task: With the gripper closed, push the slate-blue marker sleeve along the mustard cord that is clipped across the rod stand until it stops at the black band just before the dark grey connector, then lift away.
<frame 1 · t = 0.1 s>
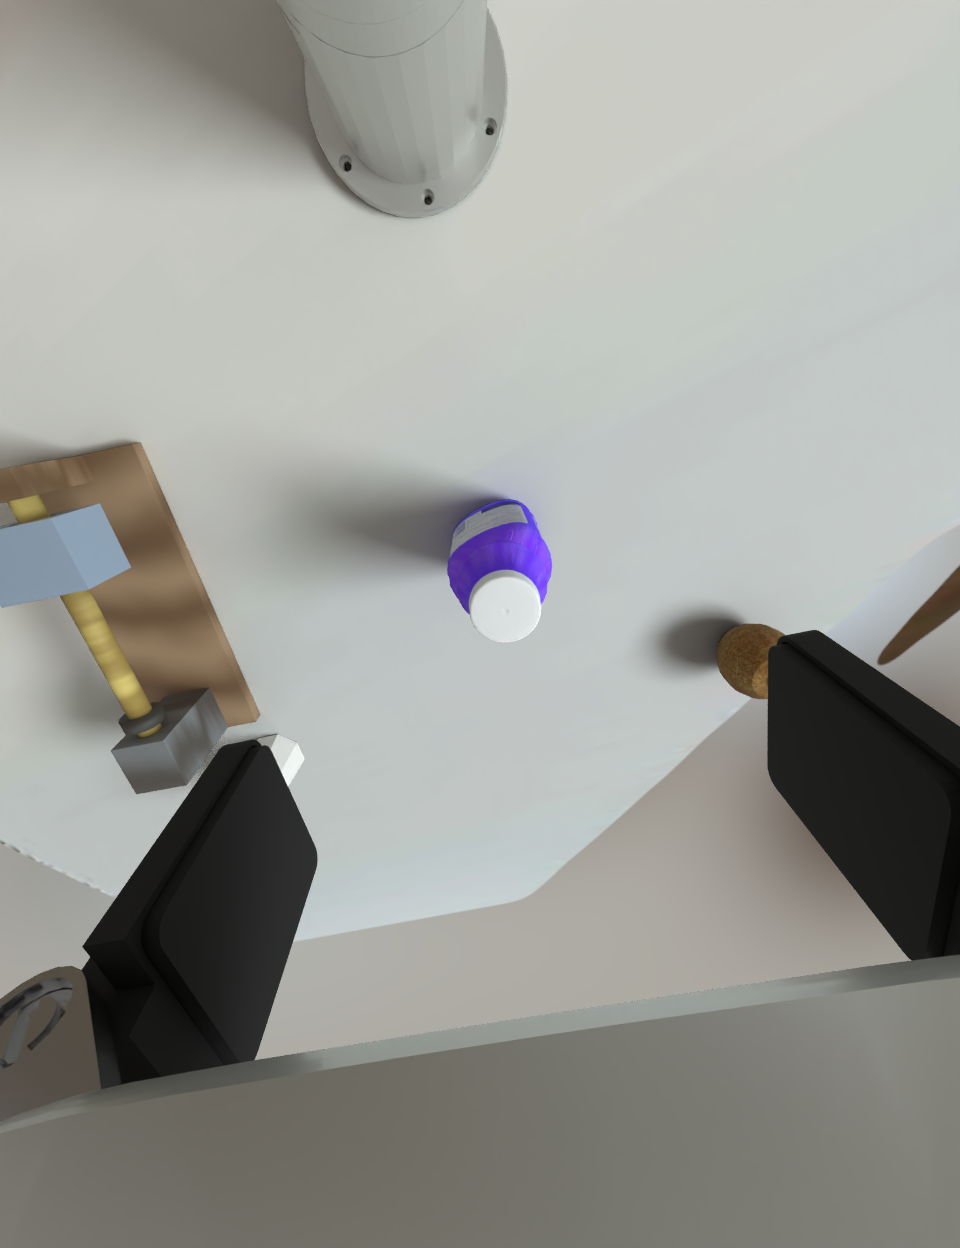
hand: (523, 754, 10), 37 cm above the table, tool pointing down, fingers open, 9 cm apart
bottle: (493, 533, 46), on the table
rod stand: (153, 604, 48), on the table
pepper shaker: (278, 753, 55), on the table
sleeve: (52, 554, 38), point 8 cm above the table, slide at 0.0 cm
fruit: (734, 640, 50), on the table
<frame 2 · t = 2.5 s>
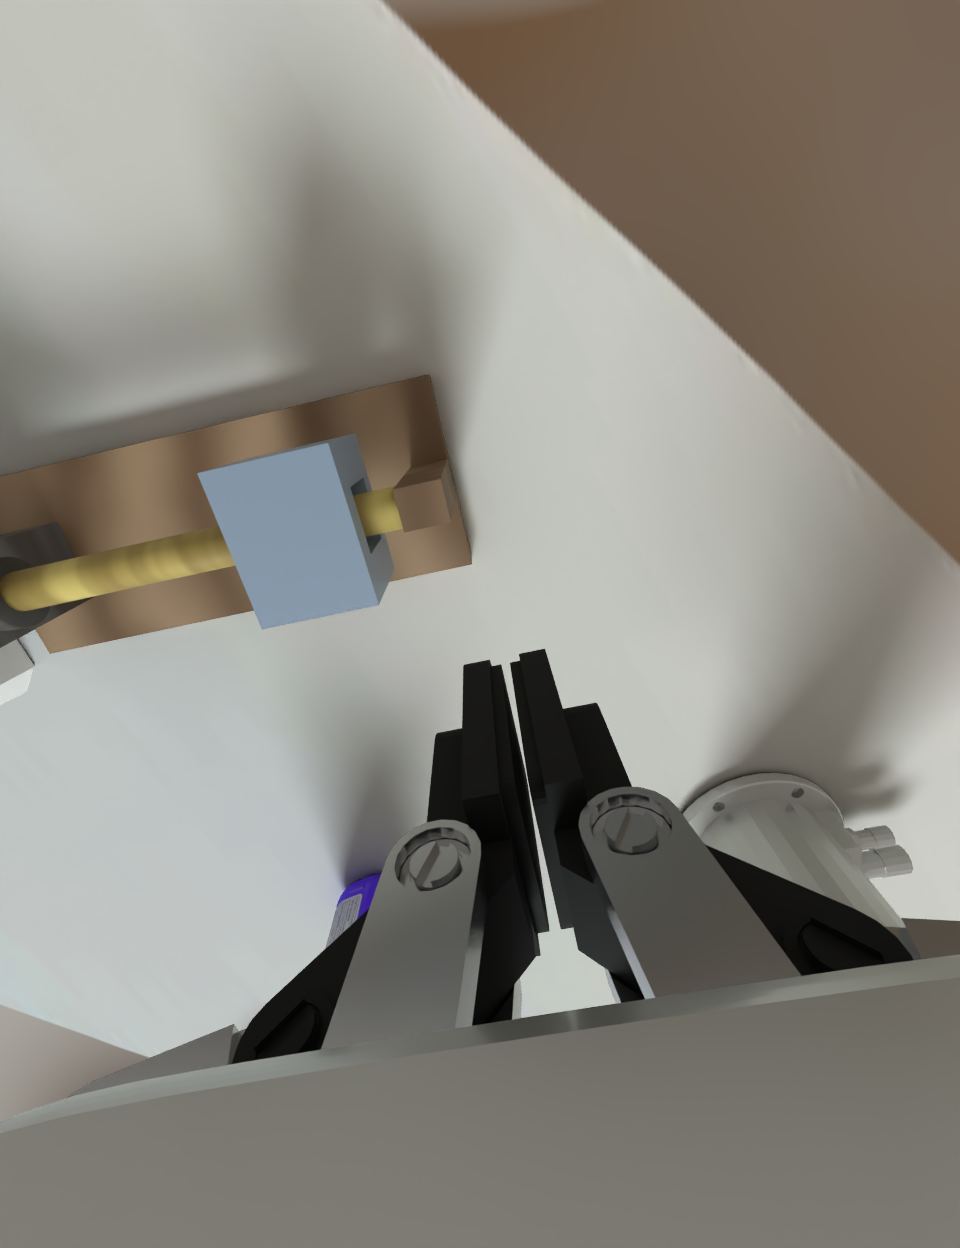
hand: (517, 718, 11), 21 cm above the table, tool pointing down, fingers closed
bottle: (383, 897, 43), on the table
rod stand: (229, 522, 30), on the table
sleeve: (310, 527, 23), point 8 cm above the table, slide at 0.0 cm
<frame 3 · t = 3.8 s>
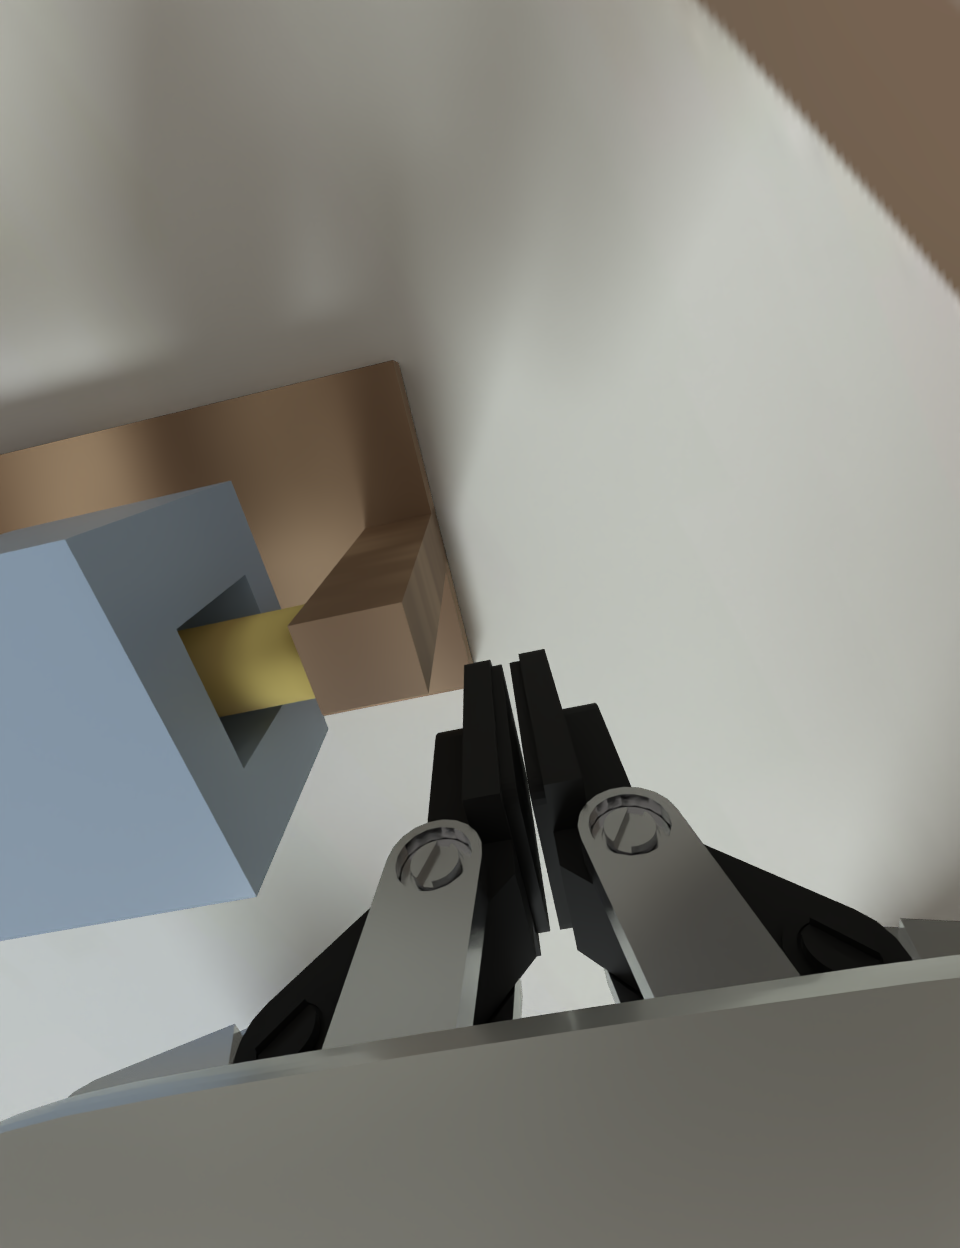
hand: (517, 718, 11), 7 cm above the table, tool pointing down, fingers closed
rod stand: (63, 615, 18), on the table
sleeve: (120, 691, 10), point 8 cm above the table, slide at 0.0 cm
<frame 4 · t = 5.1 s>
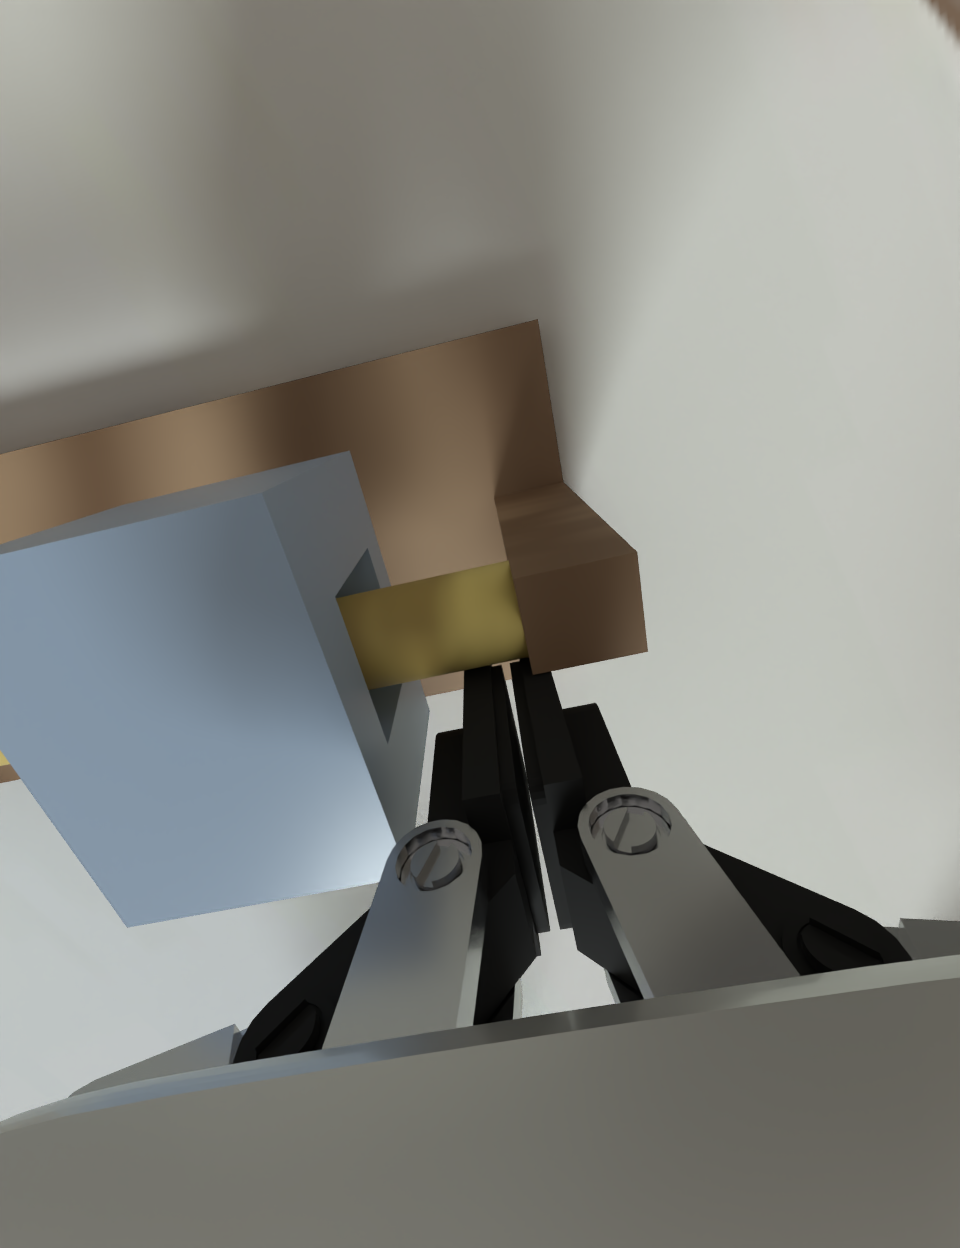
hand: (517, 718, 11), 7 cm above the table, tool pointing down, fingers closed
rod stand: (168, 593, 17), on the table
sleeve: (247, 668, 10), point 8 cm above the table, slide at 1.2 cm, touching gripper
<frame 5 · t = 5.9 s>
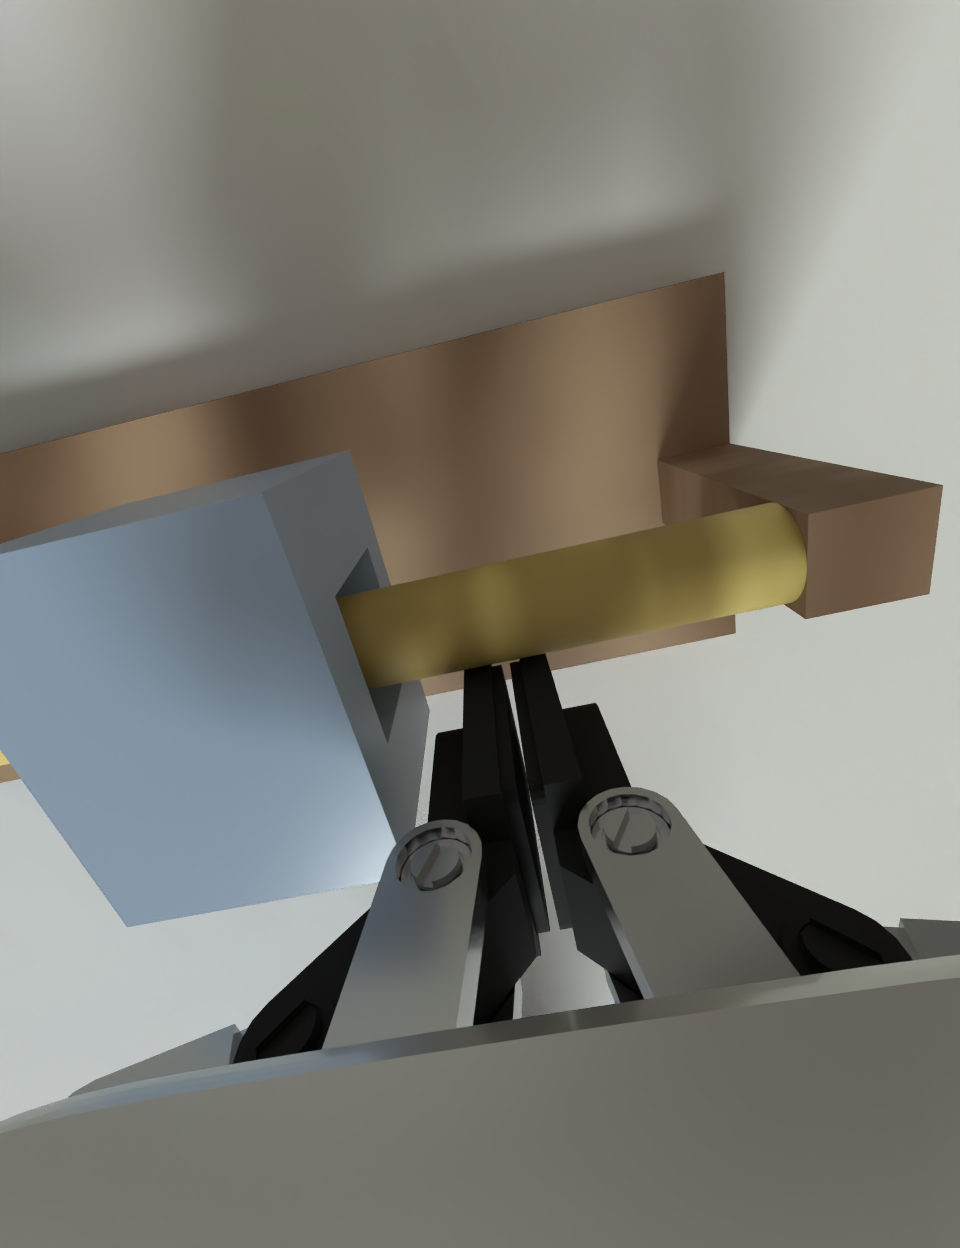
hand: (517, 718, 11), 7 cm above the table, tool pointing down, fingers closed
rod stand: (304, 562, 17), on the table
sleeve: (247, 668, 10), point 8 cm above the table, slide at 5.9 cm, touching gripper
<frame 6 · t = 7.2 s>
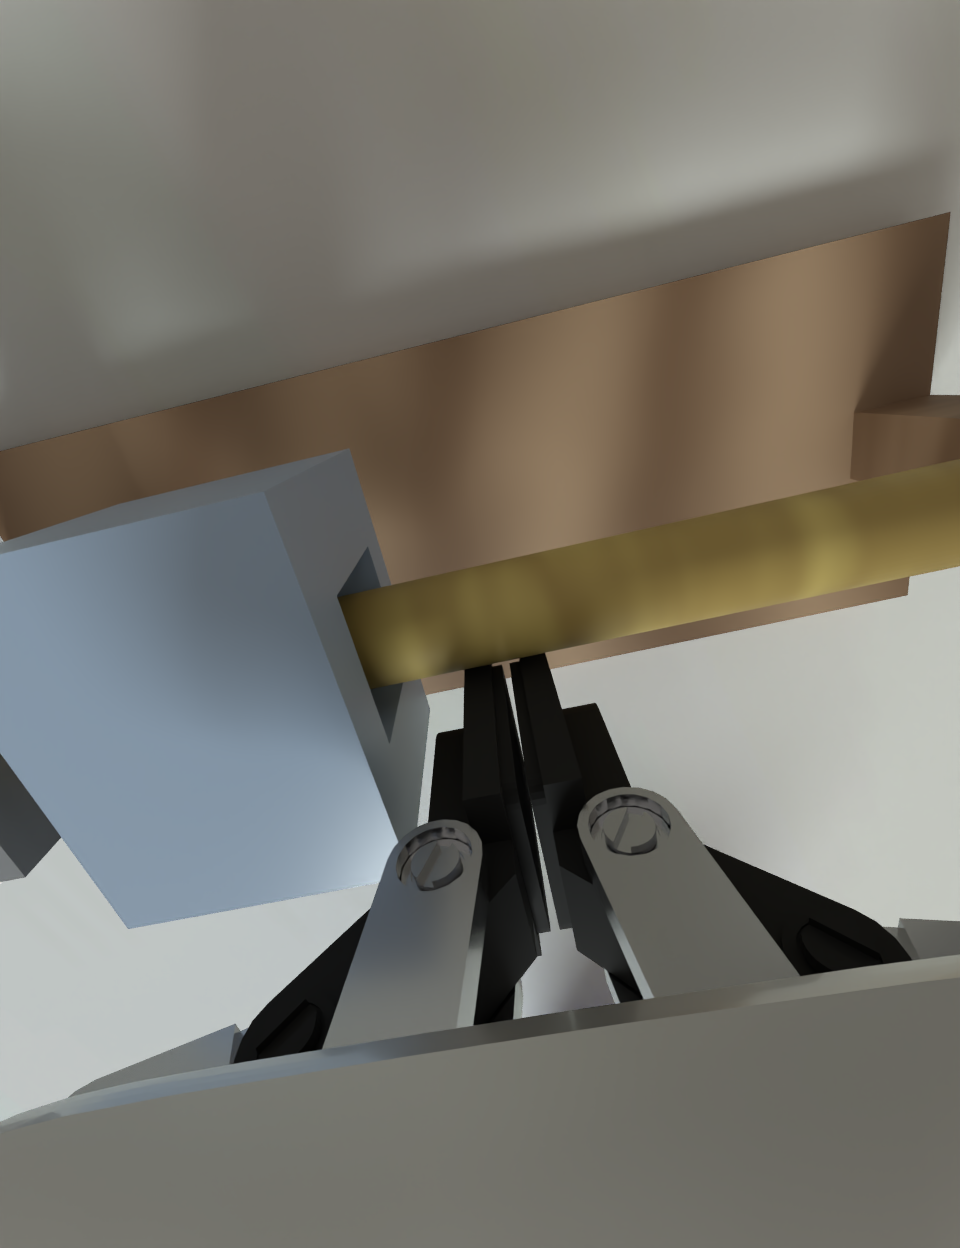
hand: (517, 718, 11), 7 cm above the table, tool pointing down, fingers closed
rod stand: (466, 524, 17), on the table
sleeve: (248, 668, 10), point 8 cm above the table, slide at 11.2 cm, touching rod stand, gripper
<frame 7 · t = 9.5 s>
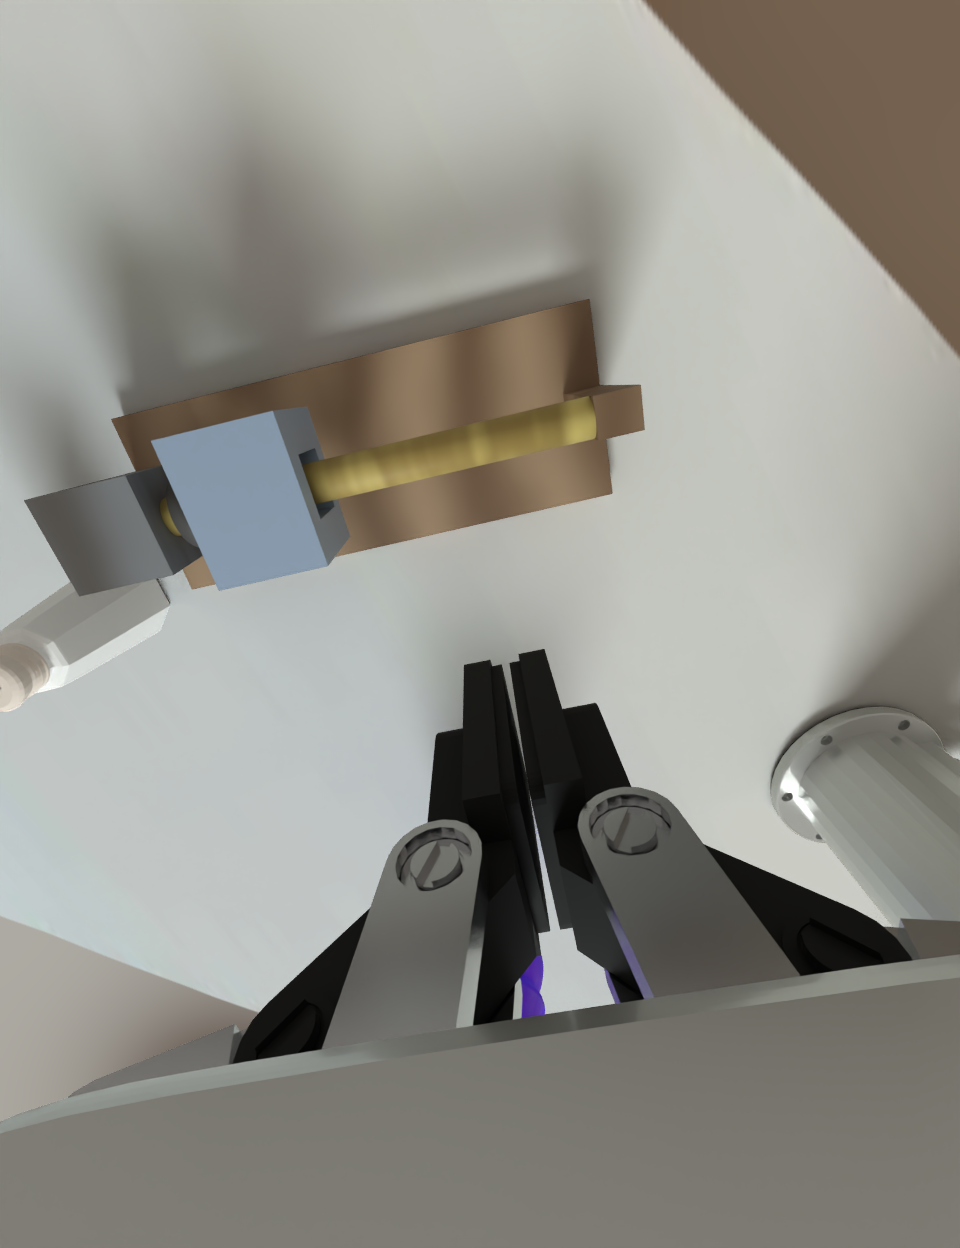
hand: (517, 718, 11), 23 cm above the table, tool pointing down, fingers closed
bottle: (487, 839, 44), on the table
rod stand: (375, 455, 31), on the table
pepper shaker: (129, 598, 34), on the table
sleeve: (264, 495, 24), point 8 cm above the table, slide at 11.0 cm
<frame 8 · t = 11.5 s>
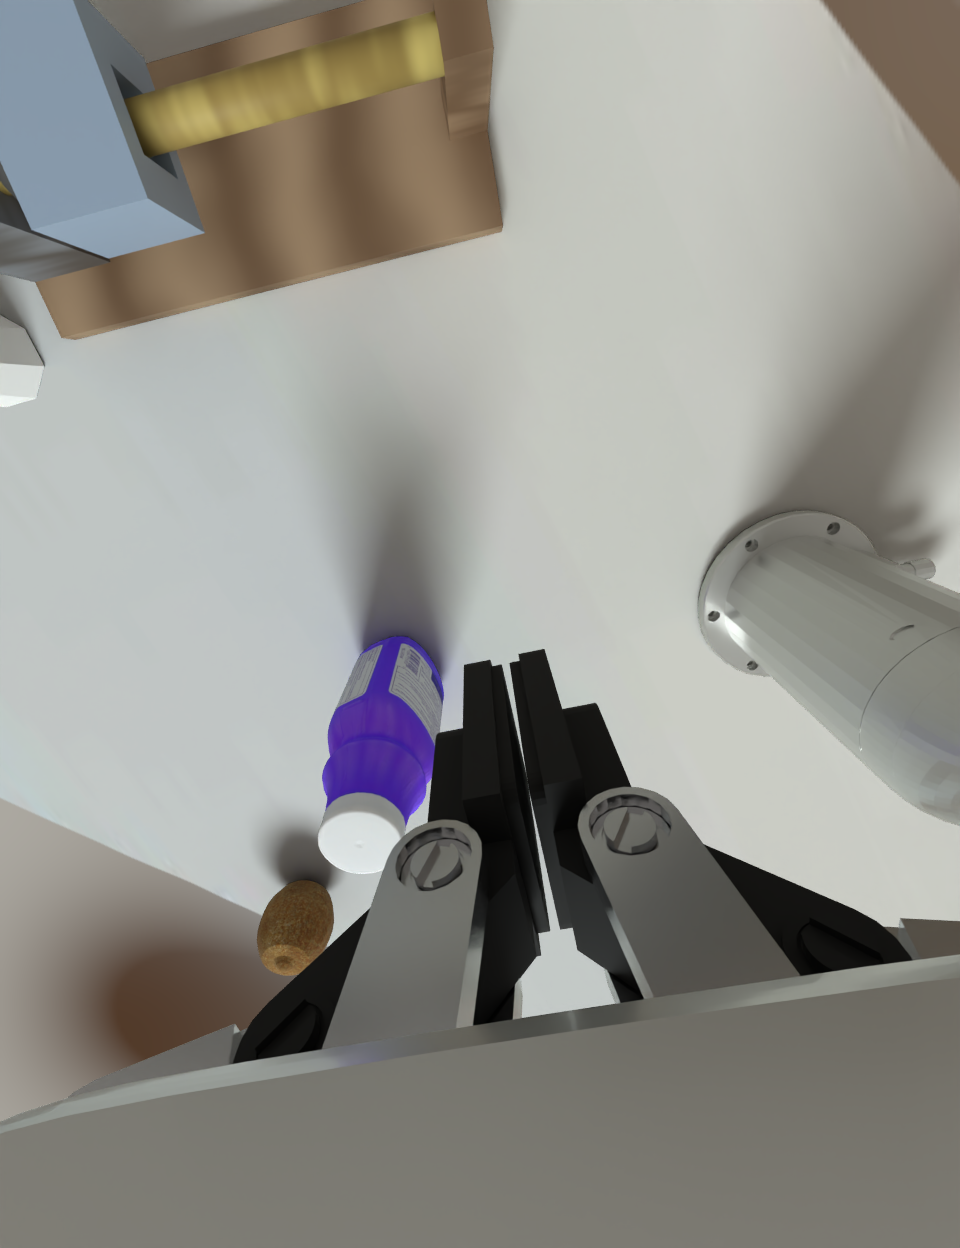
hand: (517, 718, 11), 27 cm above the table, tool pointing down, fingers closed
bottle: (402, 669, 41), on the table
rod stand: (249, 182, 29), on the table
pepper shaker: (1, 359, 32), on the table
sleeve: (90, 140, 22), point 8 cm above the table, slide at 11.0 cm
fruit: (309, 884, 50), on the table
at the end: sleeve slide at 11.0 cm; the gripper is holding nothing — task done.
